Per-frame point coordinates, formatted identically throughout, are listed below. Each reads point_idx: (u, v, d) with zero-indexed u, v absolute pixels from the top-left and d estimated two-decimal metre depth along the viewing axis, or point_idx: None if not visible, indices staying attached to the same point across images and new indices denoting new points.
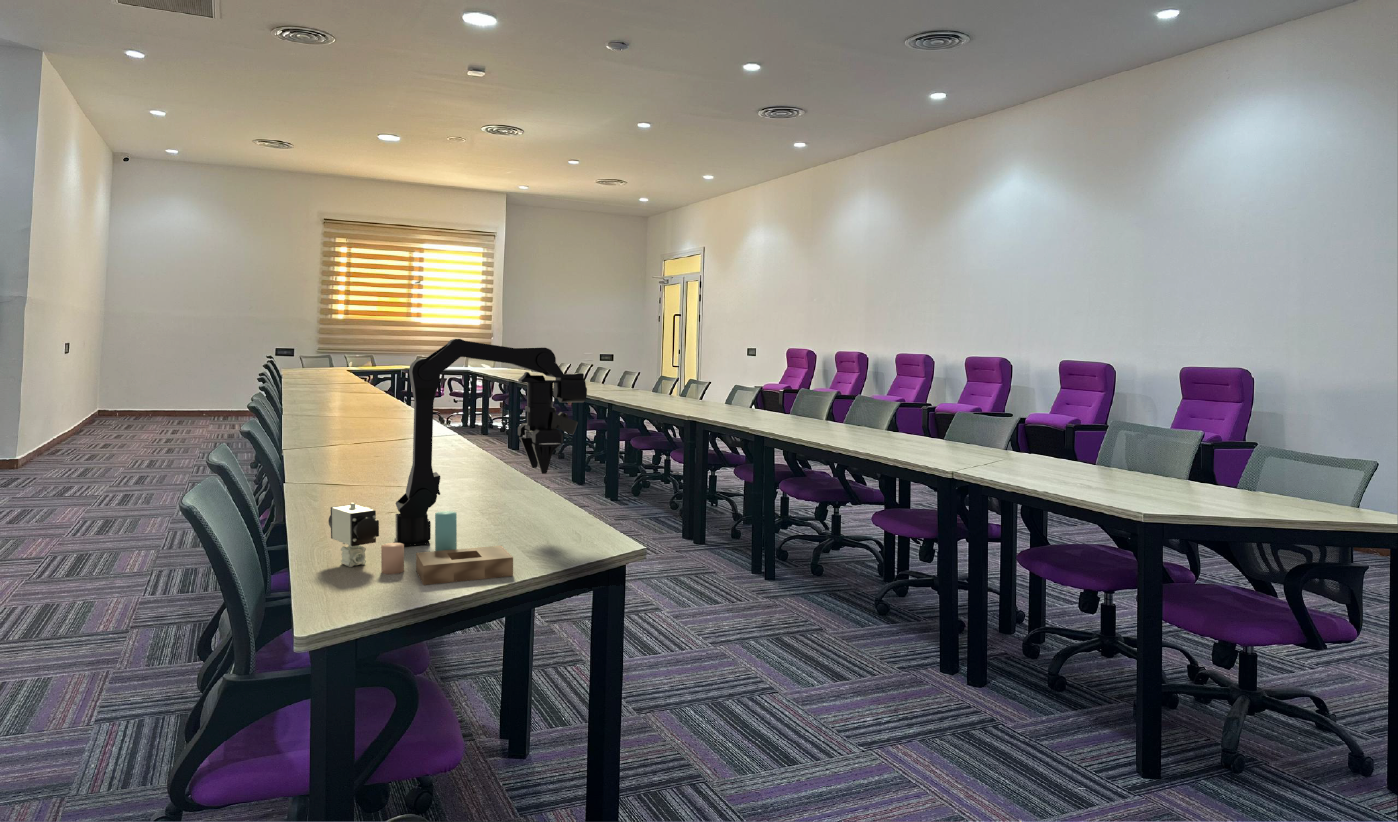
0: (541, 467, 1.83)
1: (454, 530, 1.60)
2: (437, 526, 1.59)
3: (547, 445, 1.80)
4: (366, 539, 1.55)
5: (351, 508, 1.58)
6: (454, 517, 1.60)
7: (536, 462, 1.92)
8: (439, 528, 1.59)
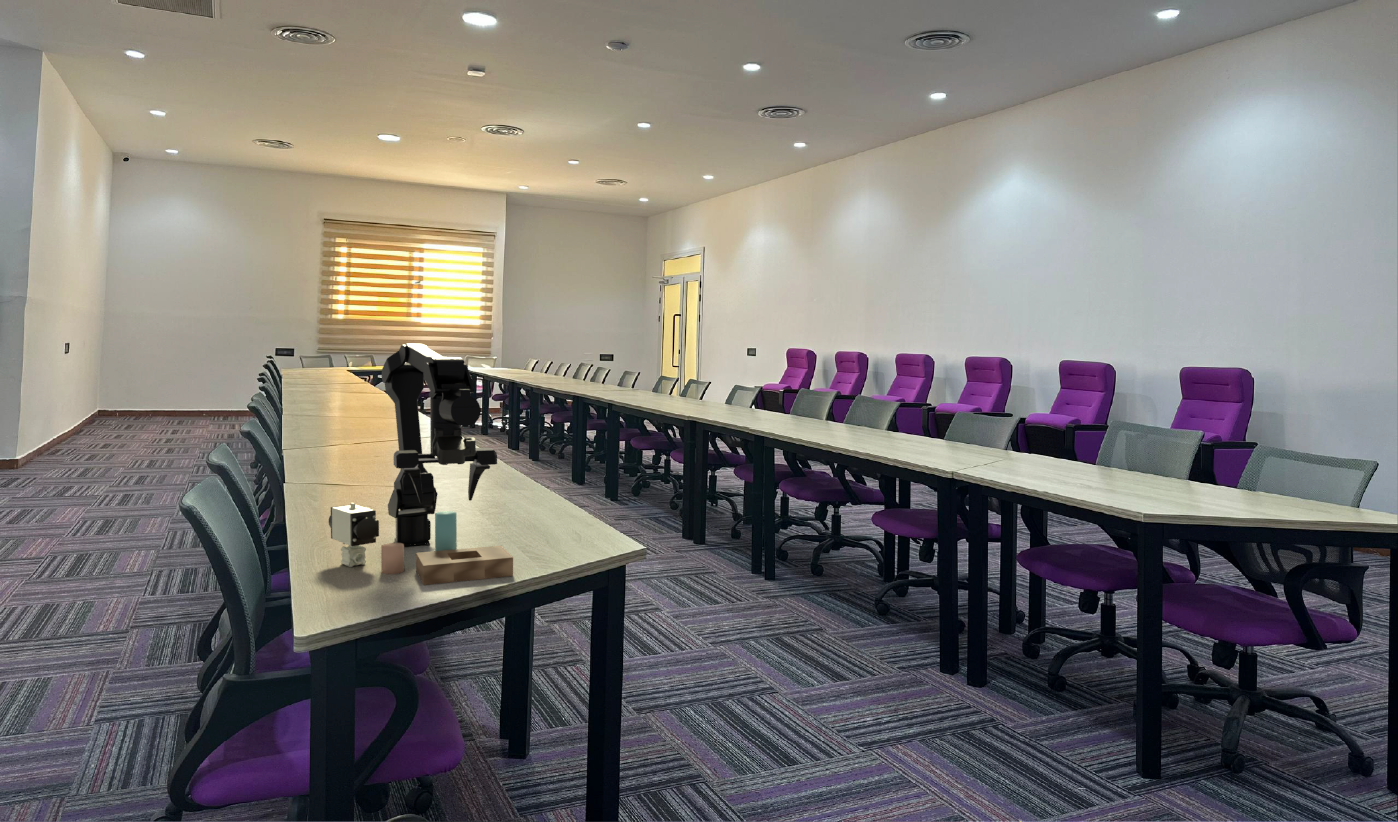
0: (417, 495, 1.59)
1: (454, 530, 1.60)
2: (437, 526, 1.59)
3: (402, 469, 1.56)
4: (366, 539, 1.55)
5: (351, 508, 1.58)
6: (454, 517, 1.60)
7: (469, 494, 1.62)
8: (439, 528, 1.59)
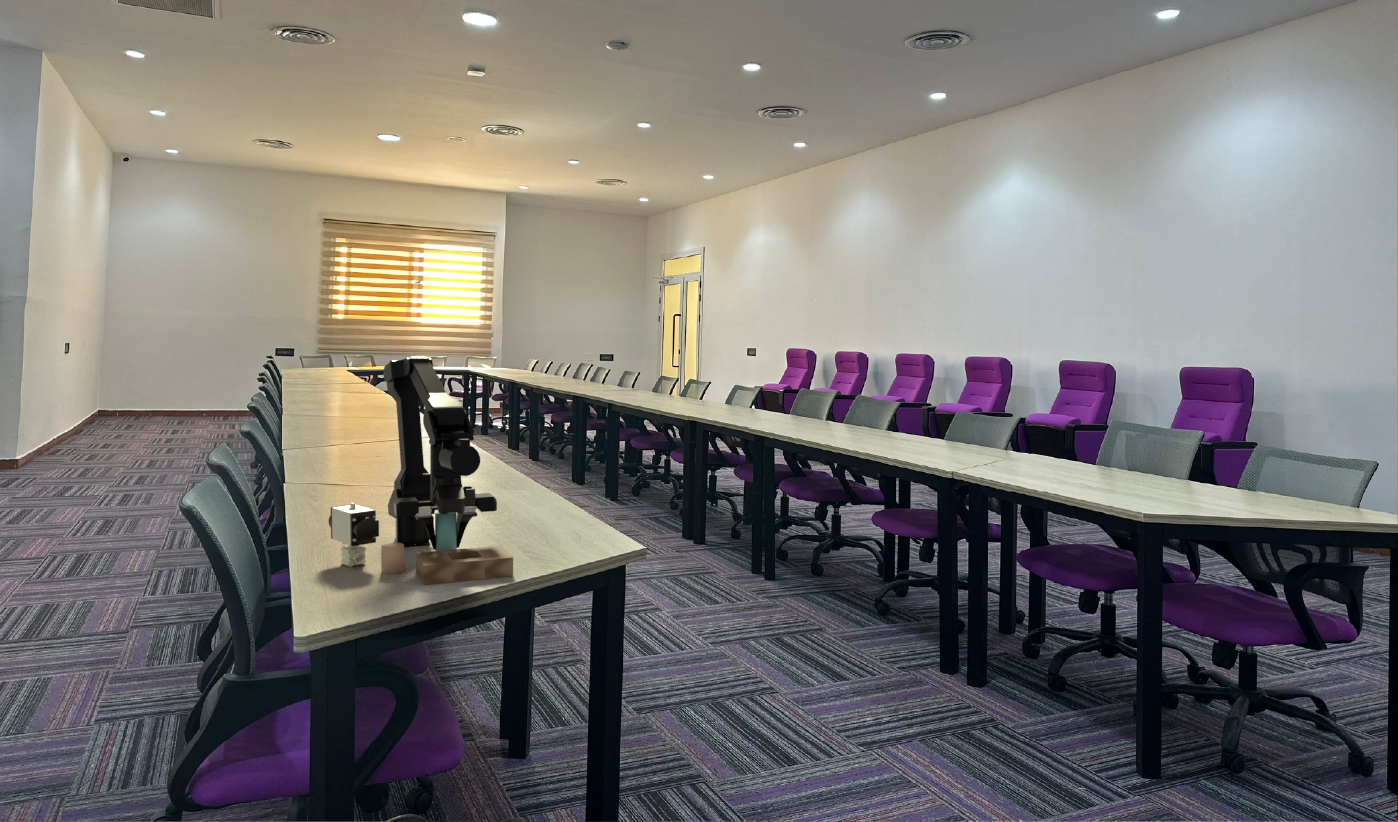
0: None
1: (454, 530, 1.60)
2: (437, 526, 1.59)
3: (415, 516, 1.58)
4: (366, 539, 1.55)
5: (351, 508, 1.58)
6: (454, 517, 1.60)
7: None
8: (439, 528, 1.59)
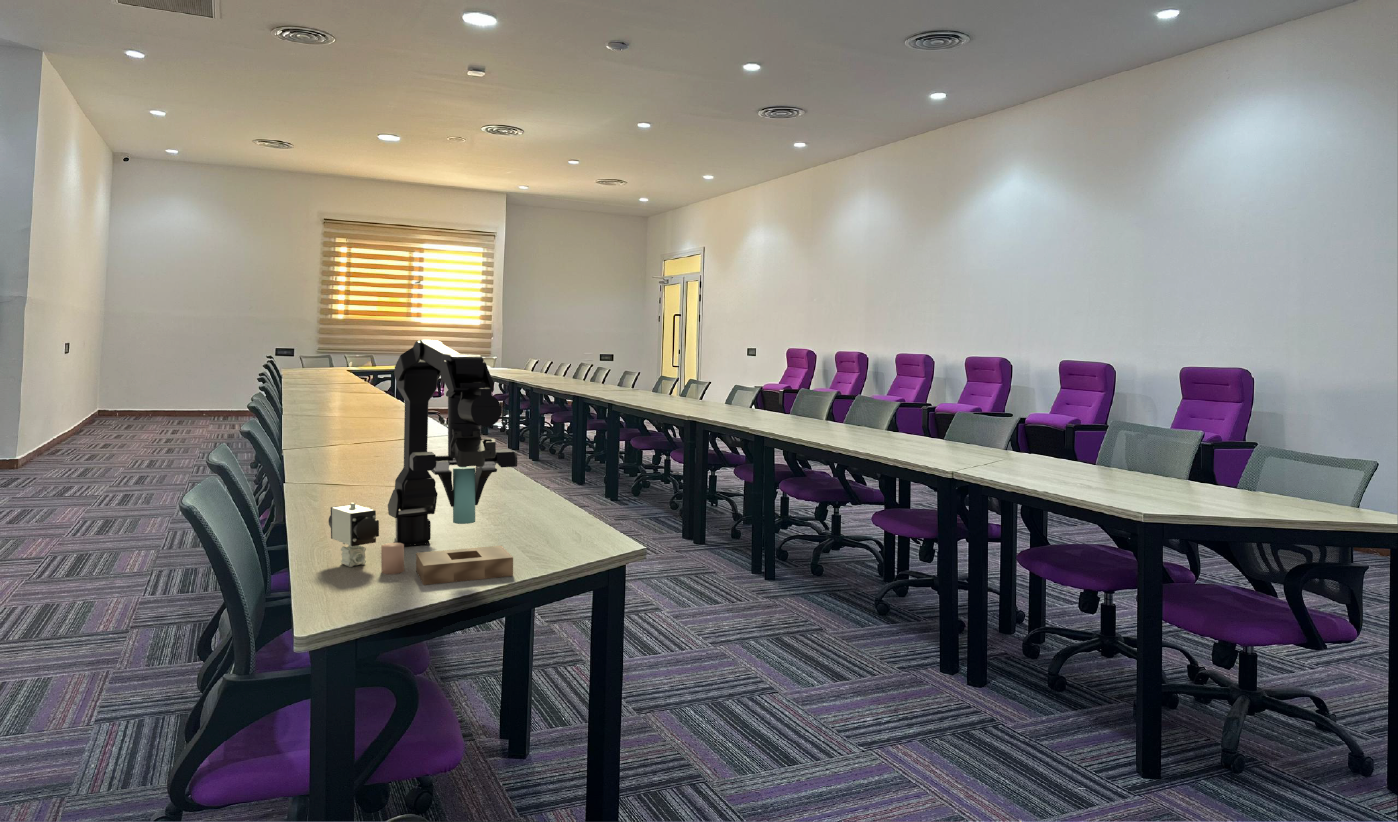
0: (448, 498, 1.53)
1: (473, 486, 1.52)
2: (455, 482, 1.51)
3: (432, 471, 1.51)
4: (366, 539, 1.55)
5: (351, 508, 1.58)
6: (473, 472, 1.52)
7: (475, 498, 1.54)
8: (457, 484, 1.51)
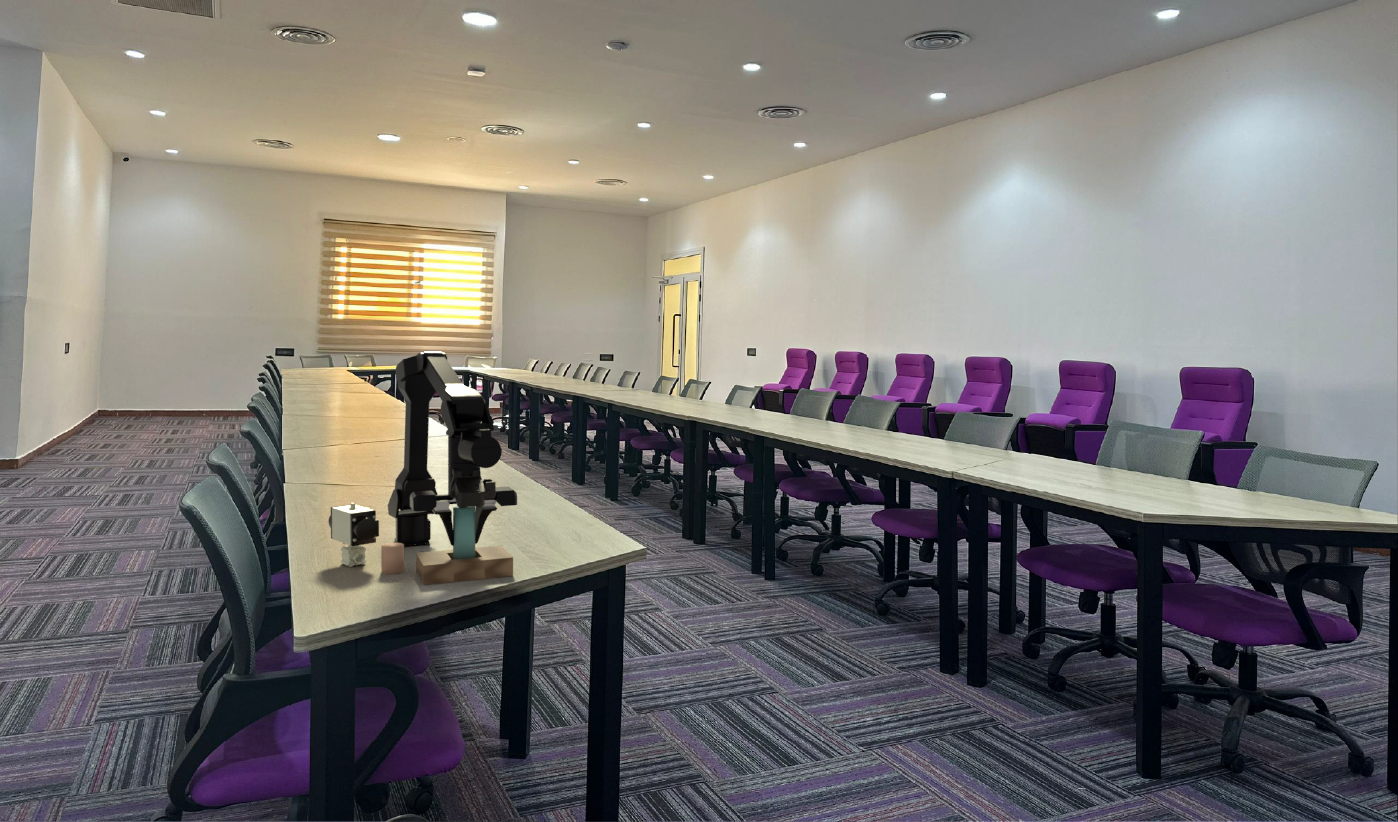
0: (448, 536, 1.53)
1: (473, 525, 1.53)
2: (455, 521, 1.52)
3: (432, 510, 1.51)
4: (366, 539, 1.55)
5: (351, 508, 1.58)
6: (473, 511, 1.53)
7: (475, 536, 1.54)
8: (457, 523, 1.52)
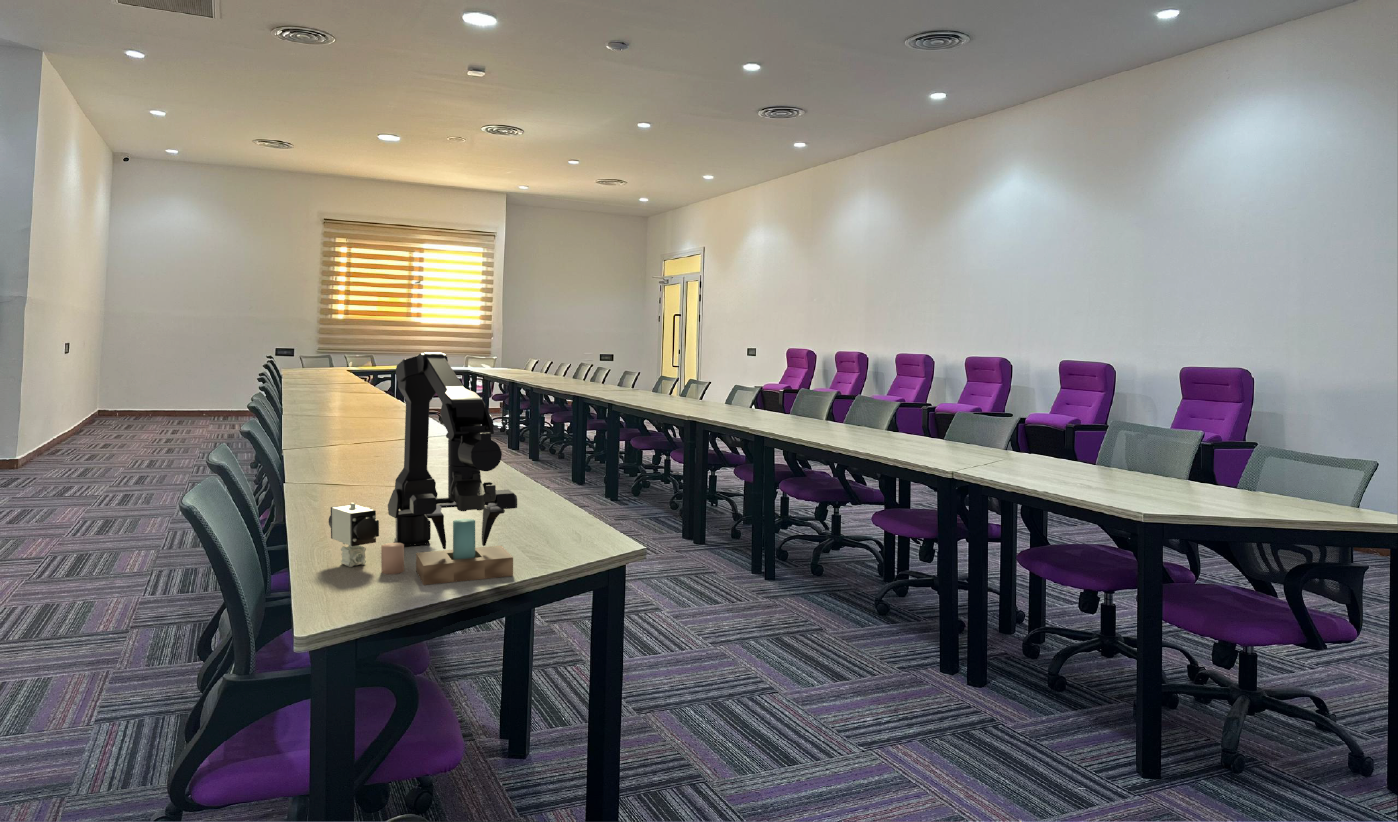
0: (440, 540, 1.53)
1: (473, 539, 1.53)
2: (455, 534, 1.52)
3: (424, 514, 1.51)
4: (366, 539, 1.55)
5: (351, 508, 1.58)
6: (473, 525, 1.53)
7: (483, 539, 1.55)
8: (457, 537, 1.52)
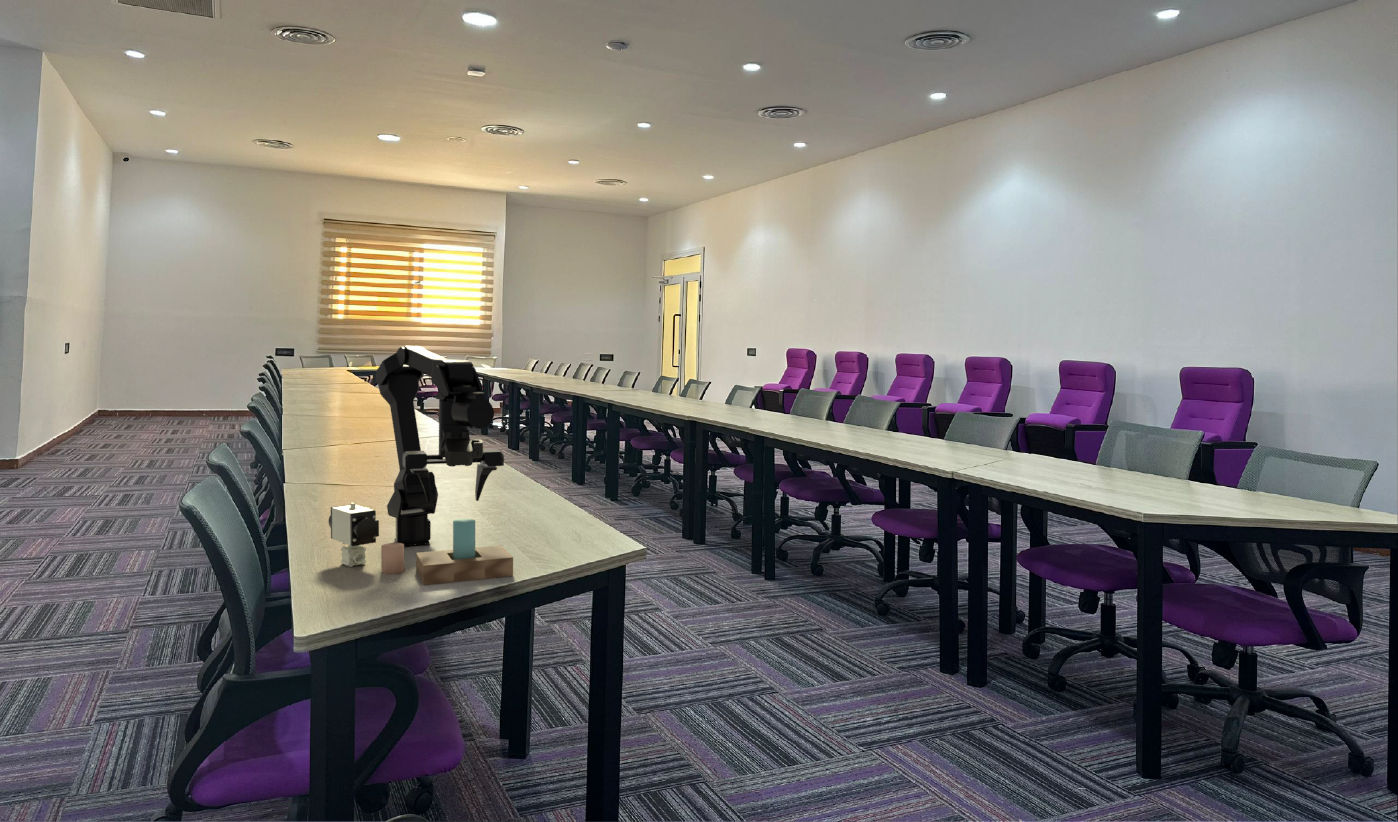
0: (425, 494, 1.62)
1: (473, 539, 1.53)
2: (455, 534, 1.52)
3: (410, 469, 1.60)
4: (366, 539, 1.55)
5: (351, 508, 1.58)
6: (473, 525, 1.53)
7: (476, 494, 1.65)
8: (457, 537, 1.52)
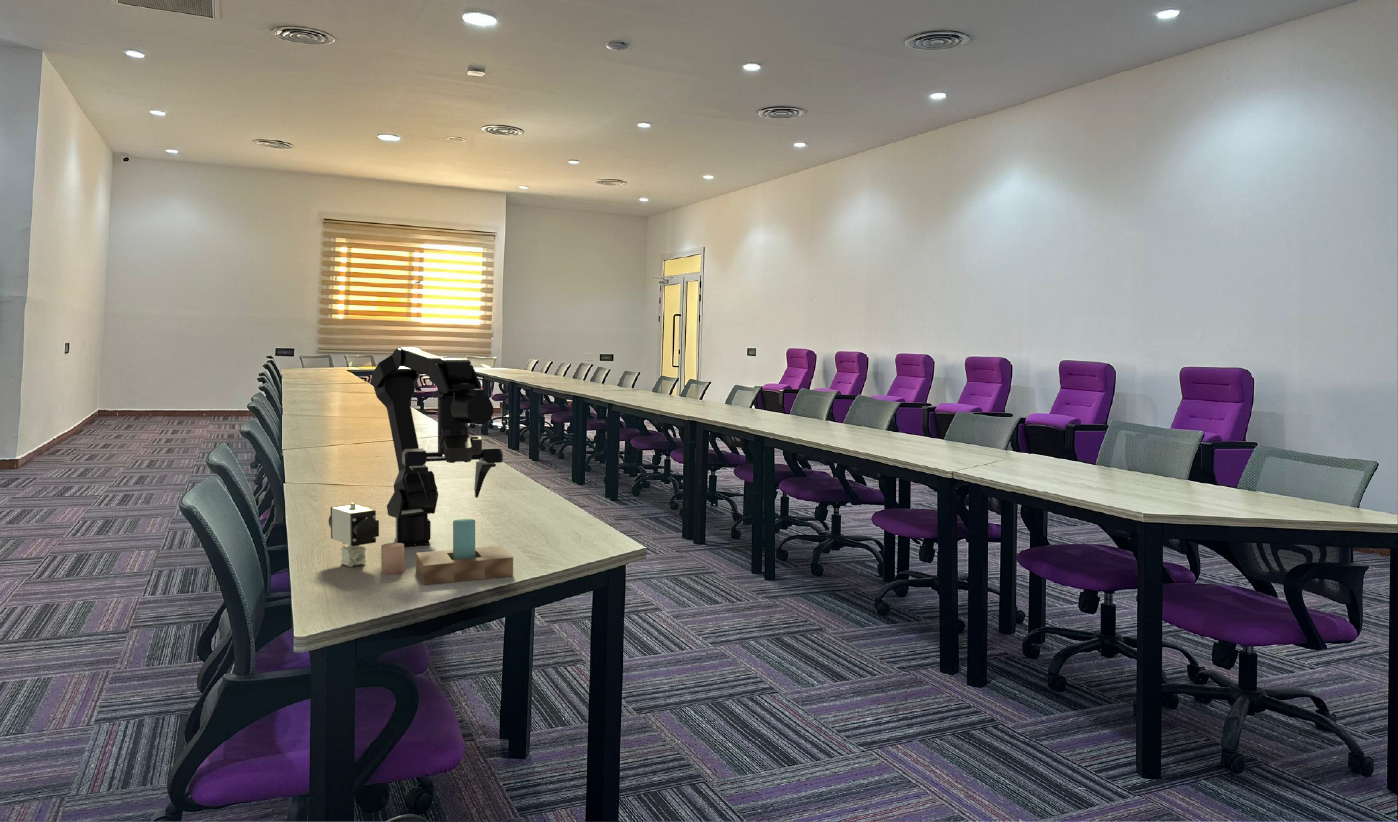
0: (425, 492, 1.63)
1: (473, 539, 1.53)
2: (455, 534, 1.52)
3: (410, 467, 1.61)
4: (366, 539, 1.55)
5: (351, 508, 1.58)
6: (473, 525, 1.53)
7: (475, 491, 1.66)
8: (457, 537, 1.52)
